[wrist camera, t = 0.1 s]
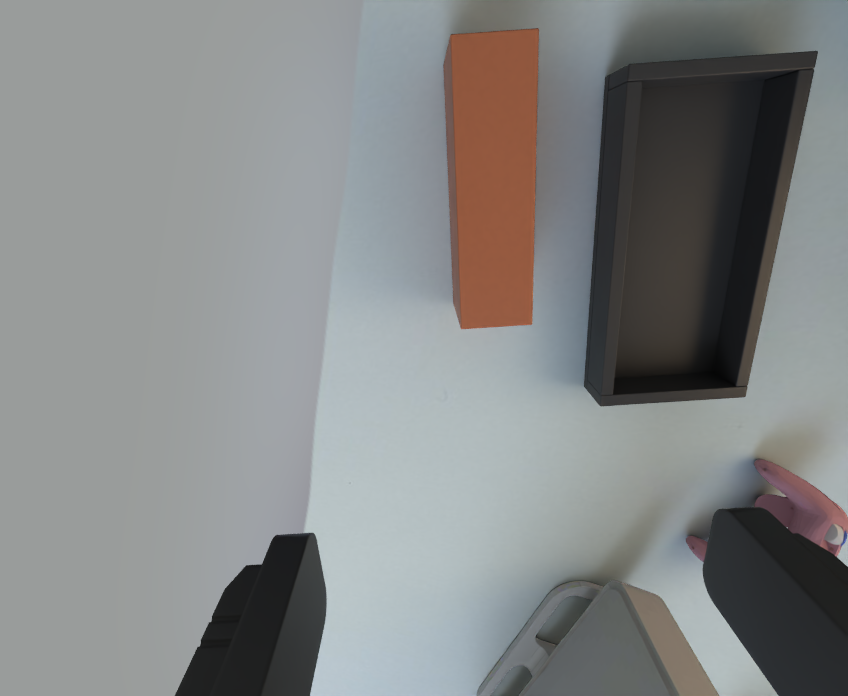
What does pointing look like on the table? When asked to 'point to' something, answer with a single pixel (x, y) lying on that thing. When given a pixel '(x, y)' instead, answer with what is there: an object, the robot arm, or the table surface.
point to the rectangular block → (492, 174)
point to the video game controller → (796, 510)
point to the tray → (689, 222)
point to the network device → (606, 649)
